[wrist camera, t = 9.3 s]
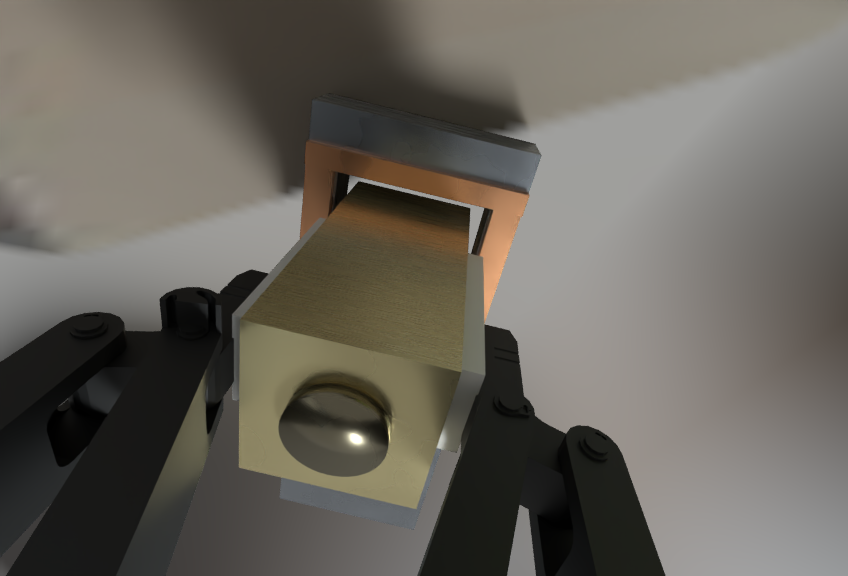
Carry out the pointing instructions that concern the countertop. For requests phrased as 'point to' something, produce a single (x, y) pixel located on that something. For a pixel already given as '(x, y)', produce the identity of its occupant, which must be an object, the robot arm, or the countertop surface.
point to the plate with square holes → (424, 172)
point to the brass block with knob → (358, 348)
